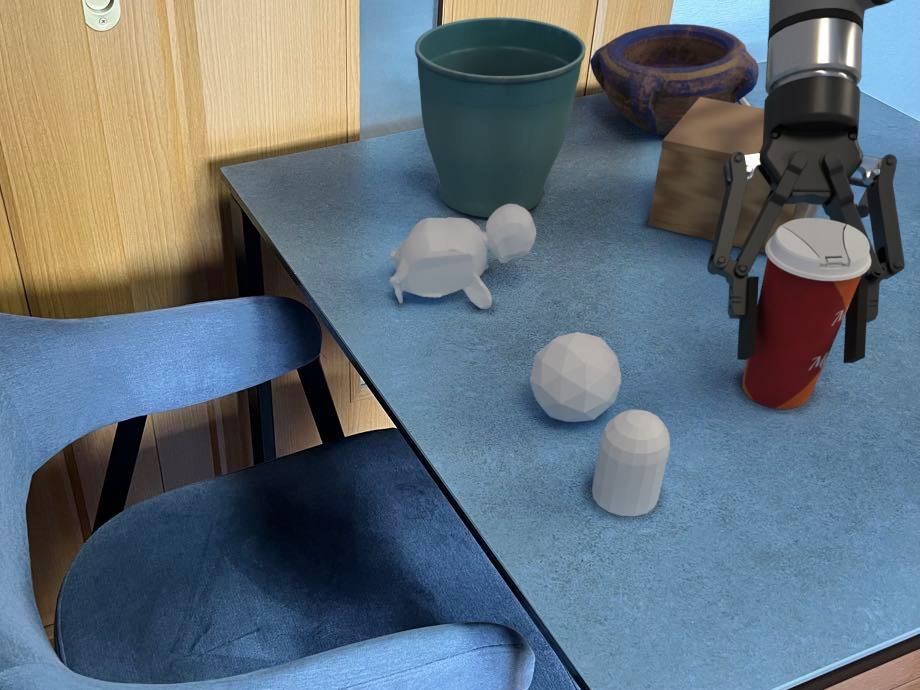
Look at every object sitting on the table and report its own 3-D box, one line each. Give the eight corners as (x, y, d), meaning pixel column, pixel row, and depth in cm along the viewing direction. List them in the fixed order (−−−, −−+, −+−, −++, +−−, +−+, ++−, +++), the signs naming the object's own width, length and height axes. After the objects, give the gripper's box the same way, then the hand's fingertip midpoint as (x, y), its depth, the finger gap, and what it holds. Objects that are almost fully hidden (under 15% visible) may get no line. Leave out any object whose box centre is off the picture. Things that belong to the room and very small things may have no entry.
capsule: (672, 501, 83) (691, 423, 78) (620, 525, 81) (636, 447, 76) (628, 464, 87) (644, 387, 81) (578, 487, 85) (590, 409, 79)
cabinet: (809, 206, 118) (834, 121, 111) (780, 257, 110) (805, 169, 103) (683, 179, 123) (700, 96, 116) (647, 225, 115) (662, 139, 109)
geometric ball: (582, 448, 92) (603, 426, 84) (506, 402, 93) (520, 375, 85) (625, 379, 93) (650, 351, 85) (550, 333, 94) (567, 301, 86)
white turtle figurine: (411, 335, 106) (552, 287, 102) (379, 267, 101) (527, 213, 96) (410, 291, 112) (544, 244, 108) (380, 224, 107) (520, 172, 102)
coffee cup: (835, 416, 91) (892, 263, 80) (742, 418, 91) (786, 265, 80) (807, 361, 97) (856, 212, 86) (719, 363, 97) (757, 214, 86)
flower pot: (440, 153, 129) (443, 8, 117) (582, 172, 125) (600, 24, 113) (393, 220, 117) (392, 66, 105) (549, 243, 113) (565, 85, 101)
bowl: (574, 101, 140) (583, 23, 133) (700, 89, 142) (715, 12, 135) (620, 158, 128) (632, 75, 121) (756, 144, 130) (776, 62, 123)
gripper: (920, 111, 90) (908, 370, 90) (676, 108, 92) (664, 362, 92) (962, 72, 83) (949, 354, 83) (696, 69, 84) (683, 346, 84)
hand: (799, 358), depth 87 cm, fingers closed on coffee cup, 8 cm apart
